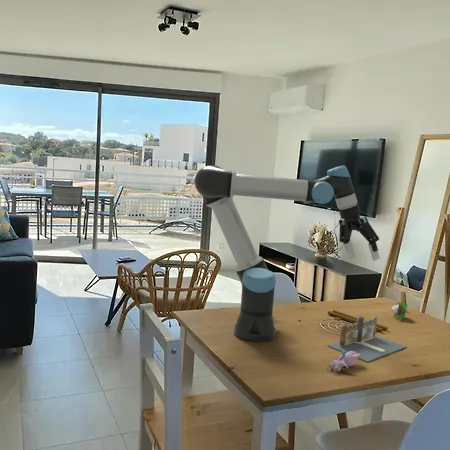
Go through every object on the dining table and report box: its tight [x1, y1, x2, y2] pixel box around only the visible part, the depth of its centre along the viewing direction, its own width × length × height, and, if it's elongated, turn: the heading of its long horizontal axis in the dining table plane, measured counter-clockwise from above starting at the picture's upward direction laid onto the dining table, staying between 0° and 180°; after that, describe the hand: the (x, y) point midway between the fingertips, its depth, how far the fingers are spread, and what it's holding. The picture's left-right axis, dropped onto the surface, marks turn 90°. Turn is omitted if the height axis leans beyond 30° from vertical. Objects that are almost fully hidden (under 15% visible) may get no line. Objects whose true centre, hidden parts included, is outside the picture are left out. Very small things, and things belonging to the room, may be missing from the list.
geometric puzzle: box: [391, 301, 409, 320], centre depth 205 cm, size 7×7×8 cm
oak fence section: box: [339, 322, 358, 346], centre depth 167 cm, size 9×2×7 cm, turn 130°
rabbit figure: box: [326, 351, 361, 375], centre depth 148 cm, size 6×6×15 cm
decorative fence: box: [327, 309, 389, 333], centre depth 194 cm, size 25×2×10 cm
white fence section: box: [356, 315, 378, 342], centre depth 173 cm, size 12×2×9 cm, turn 130°
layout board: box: [327, 334, 408, 363], centre depth 167 cm, size 25×16×1 cm, turn 130°
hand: (364, 259), depth 180 cm, fingers open, 13 cm apart
